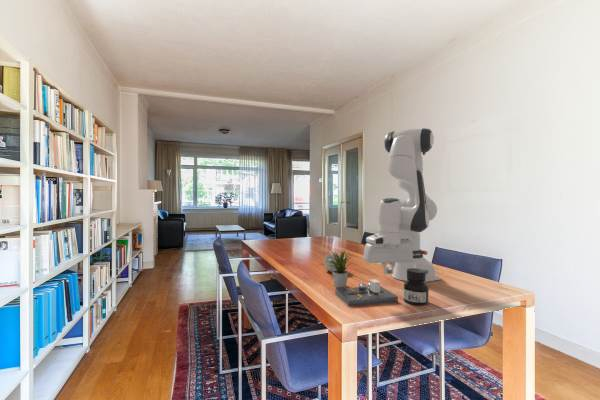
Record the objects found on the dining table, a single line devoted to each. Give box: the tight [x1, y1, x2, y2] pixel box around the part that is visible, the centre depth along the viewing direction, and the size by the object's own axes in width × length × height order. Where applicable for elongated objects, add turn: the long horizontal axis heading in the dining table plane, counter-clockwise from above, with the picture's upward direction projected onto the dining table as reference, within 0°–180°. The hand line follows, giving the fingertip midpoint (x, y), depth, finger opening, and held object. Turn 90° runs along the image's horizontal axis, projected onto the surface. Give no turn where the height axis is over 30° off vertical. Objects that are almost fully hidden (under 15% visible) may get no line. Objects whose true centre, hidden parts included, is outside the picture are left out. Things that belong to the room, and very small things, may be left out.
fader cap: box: [369, 278, 381, 293], centre depth 119 cm, size 2×4×4 cm, turn 13°
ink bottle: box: [402, 268, 430, 306], centre depth 114 cm, size 10×9×12 cm
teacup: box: [324, 254, 345, 273], centre depth 157 cm, size 14×11×8 cm
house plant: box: [326, 249, 354, 288], centre depth 135 cm, size 14×14×16 cm
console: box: [334, 282, 399, 307], centre depth 118 cm, size 20×14×4 cm
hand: (388, 273), depth 120 cm, fingers closed
